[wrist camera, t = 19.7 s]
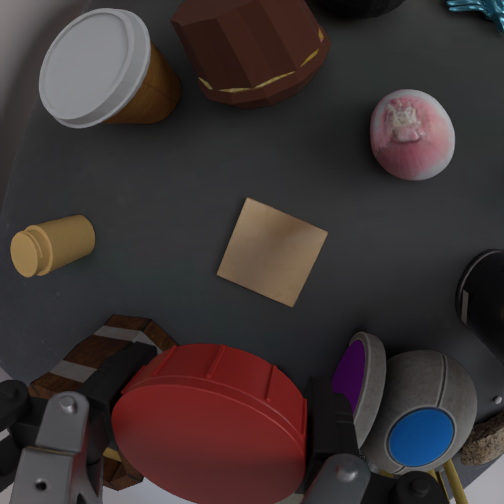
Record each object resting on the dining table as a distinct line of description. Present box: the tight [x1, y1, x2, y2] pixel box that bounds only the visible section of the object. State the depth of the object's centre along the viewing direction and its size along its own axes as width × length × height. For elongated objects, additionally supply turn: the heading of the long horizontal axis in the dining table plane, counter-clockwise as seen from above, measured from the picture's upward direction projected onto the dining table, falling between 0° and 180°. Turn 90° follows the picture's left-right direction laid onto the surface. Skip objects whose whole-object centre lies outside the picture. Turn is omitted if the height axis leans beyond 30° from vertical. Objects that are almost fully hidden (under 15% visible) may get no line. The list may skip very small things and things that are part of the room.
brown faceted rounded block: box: [170, 0, 331, 109], centre depth 20 cm, size 12×11×10 cm
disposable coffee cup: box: [39, 8, 181, 128], centre depth 22 cm, size 10×10×12 cm
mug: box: [28, 315, 179, 491], centre depth 28 cm, size 20×14×15 cm
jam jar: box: [11, 215, 95, 277], centre depth 28 cm, size 5×5×9 cm
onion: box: [370, 89, 455, 181], centre depth 22 cm, size 8×8×7 cm
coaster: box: [217, 197, 328, 307], centre depth 30 cm, size 8×8×1 cm
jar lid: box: [111, 343, 309, 504], centre depth 8 cm, size 6×6×2 cm
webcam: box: [332, 332, 477, 475], centre depth 25 cm, size 13×13×15 cm
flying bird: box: [446, 0, 504, 33], centre depth 18 cm, size 15×7×4 cm, turn 103°
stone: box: [461, 411, 504, 465], centre depth 29 cm, size 9×5×10 cm
